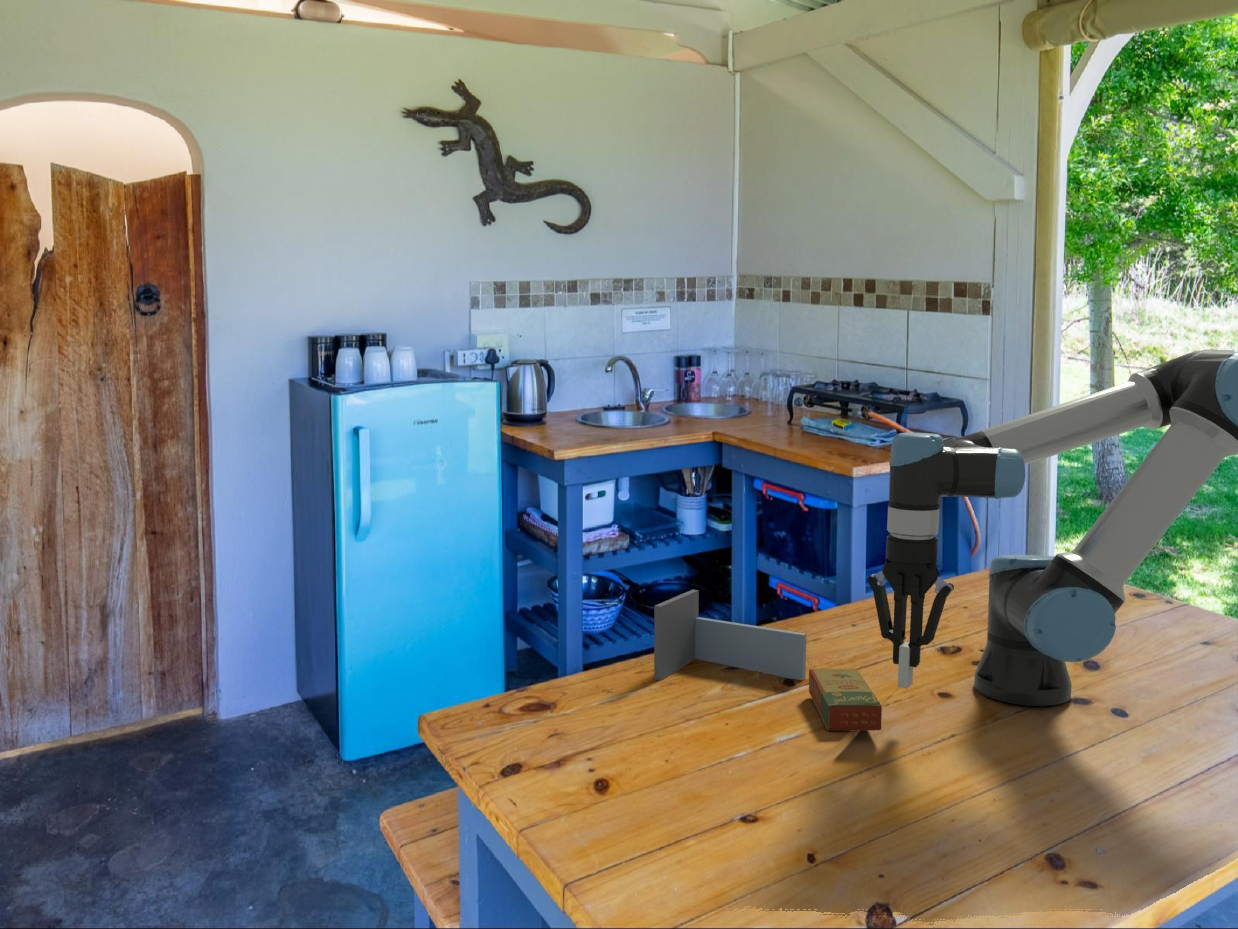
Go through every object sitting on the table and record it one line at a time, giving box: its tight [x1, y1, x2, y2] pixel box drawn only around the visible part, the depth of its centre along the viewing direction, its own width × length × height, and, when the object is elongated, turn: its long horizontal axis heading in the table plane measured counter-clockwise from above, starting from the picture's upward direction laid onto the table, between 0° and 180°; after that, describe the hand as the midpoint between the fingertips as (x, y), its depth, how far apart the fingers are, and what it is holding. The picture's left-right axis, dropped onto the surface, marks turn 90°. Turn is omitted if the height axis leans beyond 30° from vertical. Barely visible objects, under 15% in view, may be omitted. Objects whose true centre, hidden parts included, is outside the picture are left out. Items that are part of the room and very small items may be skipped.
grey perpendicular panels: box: [653, 589, 807, 682], centre depth 181 cm, size 22×14×13 cm, turn 58°
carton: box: [808, 668, 883, 732], centre depth 165 cm, size 8×16×4 cm, turn 0°
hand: (905, 685), depth 163 cm, fingers closed
